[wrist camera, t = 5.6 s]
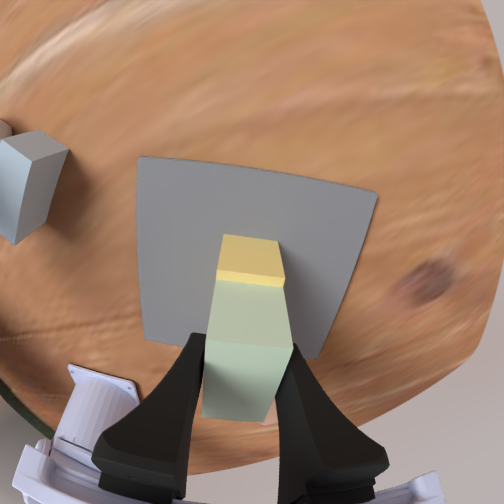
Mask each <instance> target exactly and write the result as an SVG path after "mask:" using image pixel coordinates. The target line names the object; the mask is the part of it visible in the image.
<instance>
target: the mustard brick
mask: <svg viewBox="0 0 504 504" xmlns="http://www.w3.org/2000/svg"><path fill="white" fill-rule="evenodd" d="M216 279H219V280H227V281H235V282H243V283H251V284H259V285H267V286H276V287H283V285H284V281H285V274H284V269H283V264H282V259H281V255H280V250H279V245H278V241H272V240H265V239H258V238H251V237H243V236H236V235H228V234H224V235H223V240H222V245H221V251H220V256H219V261H218V266H217V274H216Z"/></svg>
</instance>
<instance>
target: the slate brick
mask: <svg viewBox="0 0 504 504" xmlns="http://www.w3.org/2000/svg"><path fill="white" fill-rule="evenodd" d="M68 151H69V148H67V147H66V146H64V145H63V144H61V143H60V142H58V141H56V140H55V139H53V138H52V137H50V136H49V135H47V134H46V133H44V132H42V131H41V130H35V131H31V132H26V133H22V134H18V135H14V136H11V137H7V138H3V139H1V142H0V234H1V235H2V236H3V237H4V238H6V239H7V240H8V241H9V242H10V243H11V244H13V245H14V246H15V245H17V244H18V243H19V242H20V241H22V240H23V239H24V238H25V237H27V236H28V235H29V234H31V233H32V232H33V231H35V230H36V229H37V228H39V227H40V226H41V225H43V224H44V223H45V222H46V220H47V216H48V212H49V208H50V205H51V201H52V198H53V194H54V191H55V188H56V185H57V182H58V179H59V176H60V173H61V170H62V167H63V164H64V161H65V159H66V156H67V153H68Z"/></svg>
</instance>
